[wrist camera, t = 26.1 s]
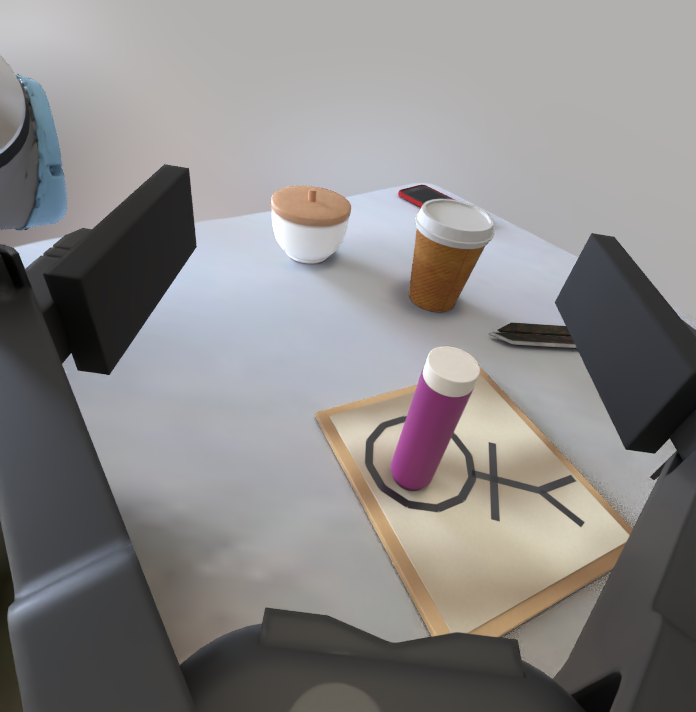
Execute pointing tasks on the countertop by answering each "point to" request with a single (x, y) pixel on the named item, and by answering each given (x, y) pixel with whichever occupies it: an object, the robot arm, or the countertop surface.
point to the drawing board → (478, 512)
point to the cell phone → (421, 194)
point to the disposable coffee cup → (446, 251)
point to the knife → (533, 338)
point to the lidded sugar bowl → (309, 222)
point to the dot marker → (433, 415)
